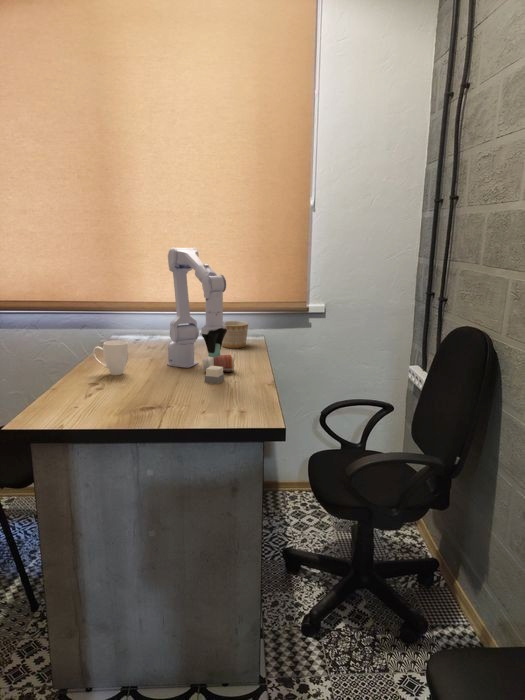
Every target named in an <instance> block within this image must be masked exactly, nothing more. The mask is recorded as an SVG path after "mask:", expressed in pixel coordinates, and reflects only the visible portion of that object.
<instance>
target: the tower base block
mask: <svg viewBox="0 0 525 700" xmlns="http://www.w3.org/2000/svg"><path fill="white" fill-rule="evenodd" d="M223 381H225V373H223V374H222V375H221V376H219V377H211V376H206V374H205V375H204V383H209V384H217V385H218V384H220V383H222V382H223Z"/></svg>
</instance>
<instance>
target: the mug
mask: <svg viewBox="0 0 525 700" xmlns="http://www.w3.org/2000/svg"><path fill="white" fill-rule="evenodd" d="M102 346H103V347H101V346H95V347H94V348H93V350H92V356H93V359H94V360H95V361H96V362H97V363H98V364H100V365H101V366H102V367H104V368H106V369H108V371H109V374H110V375H112V376H121V375H123V374H124V372H125V369H126V366H127V363H128V359H129V343H128V341H127V340H121V339H114V340H113V339H112V340H106V341H104V342H103V345H102ZM96 349H99V350H100V351H101V352H102V354H103V359H104V362H105V363H103V362H101V361H100V360H99V359H98V358H97V356H96Z"/></svg>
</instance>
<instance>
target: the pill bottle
mask: <svg viewBox="0 0 525 700" xmlns="http://www.w3.org/2000/svg"><path fill="white" fill-rule="evenodd" d="M210 366H219V367H223V373H226V372H228V373H229V372H234V370H235V357H234V355H233V354H220V356H219V357H209V356H208V357H202V371H206V369H207V368H208V367H210Z"/></svg>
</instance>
